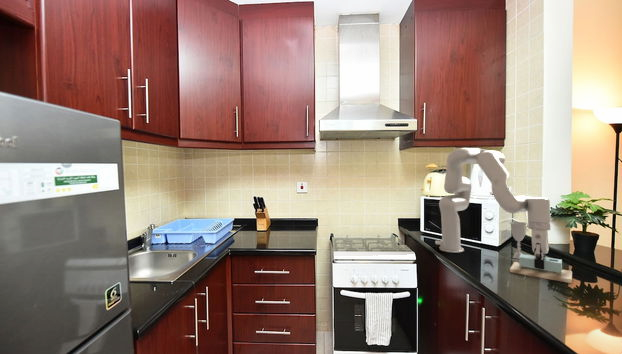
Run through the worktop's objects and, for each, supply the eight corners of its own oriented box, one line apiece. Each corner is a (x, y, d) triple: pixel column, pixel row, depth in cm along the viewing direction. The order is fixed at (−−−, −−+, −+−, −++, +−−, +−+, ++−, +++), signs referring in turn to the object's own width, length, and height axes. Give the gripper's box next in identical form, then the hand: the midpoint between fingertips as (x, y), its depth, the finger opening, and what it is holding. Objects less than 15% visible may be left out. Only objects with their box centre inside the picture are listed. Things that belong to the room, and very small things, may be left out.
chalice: (522, 255, 144) (521, 221, 144) (531, 259, 138) (530, 224, 137) (507, 255, 145) (506, 221, 145) (515, 259, 138) (514, 224, 138)
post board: (510, 271, 123) (509, 258, 123) (514, 264, 131) (514, 252, 131) (571, 283, 109) (571, 268, 109) (572, 274, 117) (571, 260, 117)
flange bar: (519, 265, 123) (519, 257, 123) (521, 262, 127) (521, 253, 127) (561, 273, 113) (561, 263, 113) (562, 269, 117) (561, 259, 117)
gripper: (548, 229, 111) (549, 274, 111) (551, 223, 123) (552, 263, 124) (525, 227, 116) (526, 270, 117) (530, 221, 129) (531, 259, 129)
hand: (540, 266), depth 120 cm, fingers closed on flange bar, 5 cm apart
